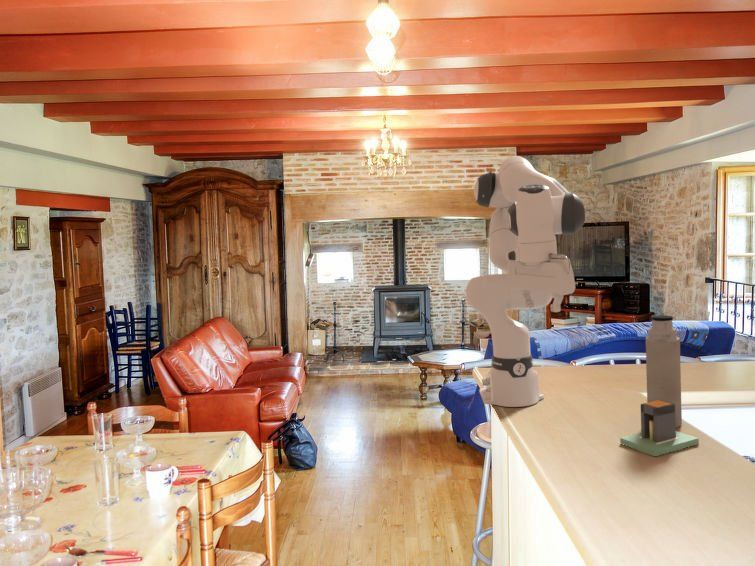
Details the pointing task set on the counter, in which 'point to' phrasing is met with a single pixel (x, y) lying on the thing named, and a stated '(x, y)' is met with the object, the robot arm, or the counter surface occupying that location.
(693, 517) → the counter surface
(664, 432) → the block
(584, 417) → the counter surface
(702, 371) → the counter surface
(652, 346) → the thermos bottle
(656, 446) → the header board
